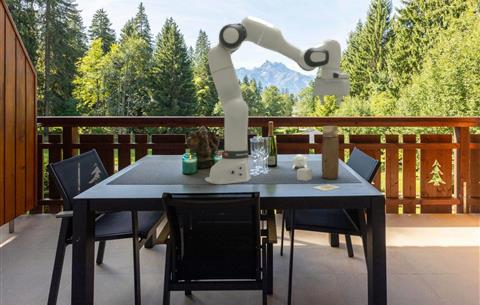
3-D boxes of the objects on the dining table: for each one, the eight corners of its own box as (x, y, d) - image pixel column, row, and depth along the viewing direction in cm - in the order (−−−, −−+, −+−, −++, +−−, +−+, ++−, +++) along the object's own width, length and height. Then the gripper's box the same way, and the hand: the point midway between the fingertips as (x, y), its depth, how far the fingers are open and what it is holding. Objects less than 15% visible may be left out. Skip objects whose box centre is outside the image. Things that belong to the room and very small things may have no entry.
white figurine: (292, 172, 215) (291, 166, 200) (293, 157, 217) (291, 151, 202) (307, 172, 213) (307, 167, 199) (308, 158, 215) (307, 151, 201)
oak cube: (330, 137, 178) (330, 126, 177) (322, 136, 182) (322, 126, 181) (337, 136, 181) (337, 126, 180) (329, 135, 185) (330, 125, 184)
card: (324, 191, 156) (324, 190, 156) (312, 188, 162) (312, 187, 162) (340, 187, 162) (340, 186, 162) (328, 184, 167) (328, 184, 167)
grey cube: (306, 181, 177) (306, 170, 176) (296, 179, 180) (297, 169, 179) (311, 179, 180) (311, 169, 180) (302, 178, 184) (302, 167, 183)
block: (338, 179, 178) (339, 137, 176) (322, 179, 179) (323, 137, 176) (335, 175, 189) (336, 135, 186) (320, 175, 190) (321, 135, 187)
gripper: (310, 76, 184) (310, 105, 186) (343, 73, 168) (342, 105, 169) (319, 77, 188) (319, 104, 190) (352, 74, 171) (351, 105, 173)
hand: (330, 105), depth 179 cm, fingers open, 8 cm apart
